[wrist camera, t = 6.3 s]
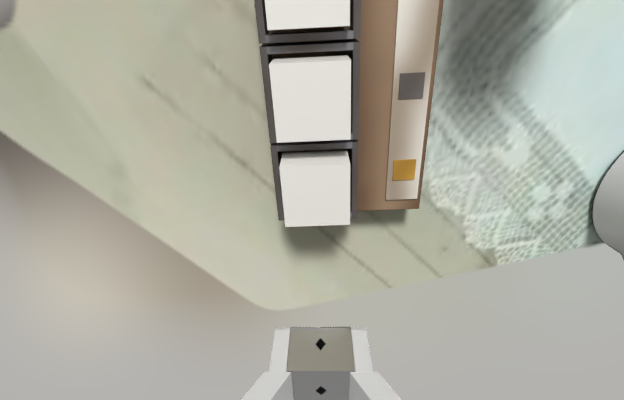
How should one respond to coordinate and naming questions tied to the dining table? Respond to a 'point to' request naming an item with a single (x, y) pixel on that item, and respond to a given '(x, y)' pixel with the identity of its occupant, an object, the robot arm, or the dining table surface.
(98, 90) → the dining table surface
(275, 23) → the button near
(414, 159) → the button board
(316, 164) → the button far
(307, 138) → the button middle
